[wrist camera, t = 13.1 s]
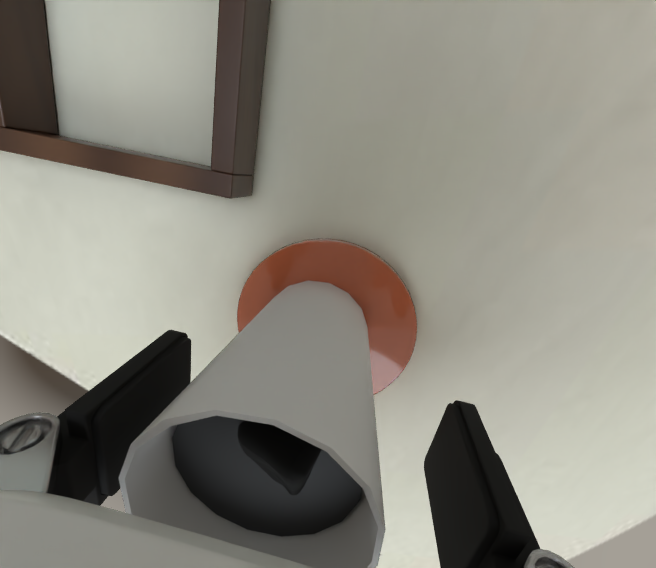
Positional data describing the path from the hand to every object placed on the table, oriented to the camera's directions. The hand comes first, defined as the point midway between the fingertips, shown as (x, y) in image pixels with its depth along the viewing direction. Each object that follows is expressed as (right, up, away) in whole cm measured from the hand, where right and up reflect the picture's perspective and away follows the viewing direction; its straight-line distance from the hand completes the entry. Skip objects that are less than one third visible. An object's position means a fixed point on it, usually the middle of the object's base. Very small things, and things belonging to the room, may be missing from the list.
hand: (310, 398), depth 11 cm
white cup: (0, +2, +6) cm, 6 cm away
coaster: (0, +2, +7) cm, 7 cm away
